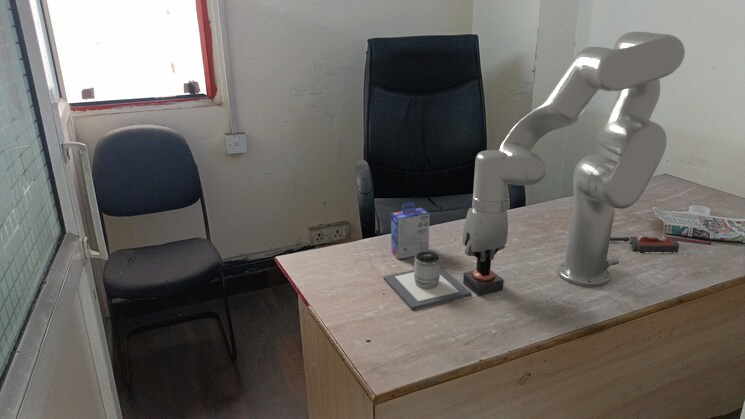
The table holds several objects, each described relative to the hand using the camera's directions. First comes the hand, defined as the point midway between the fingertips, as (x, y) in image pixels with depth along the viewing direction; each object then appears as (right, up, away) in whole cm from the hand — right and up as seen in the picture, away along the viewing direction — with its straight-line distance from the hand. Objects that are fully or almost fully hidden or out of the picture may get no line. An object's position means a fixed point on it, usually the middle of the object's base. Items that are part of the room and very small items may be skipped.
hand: (483, 273), depth 132 cm
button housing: (0, -4, +1) cm, 4 cm away
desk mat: (-14, -4, +2) cm, 14 cm away
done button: (0, -2, +1) cm, 3 cm away
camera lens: (-14, -3, +1) cm, 14 cm away
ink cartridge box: (-17, +3, +20) cm, 26 cm away
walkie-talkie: (+50, +4, +22) cm, 54 cm away
